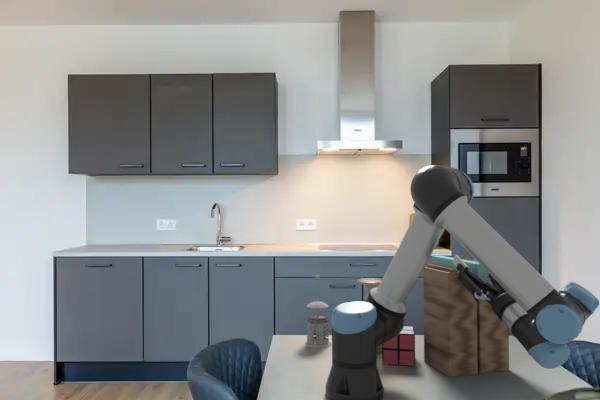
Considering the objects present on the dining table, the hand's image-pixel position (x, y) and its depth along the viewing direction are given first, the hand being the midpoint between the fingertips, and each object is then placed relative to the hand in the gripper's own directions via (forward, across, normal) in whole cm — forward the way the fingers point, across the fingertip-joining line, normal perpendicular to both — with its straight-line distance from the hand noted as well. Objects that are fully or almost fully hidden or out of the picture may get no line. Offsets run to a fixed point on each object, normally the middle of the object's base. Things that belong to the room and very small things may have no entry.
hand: (465, 258), depth 135 cm
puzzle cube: (-2, -12, -39) cm, 41 cm away
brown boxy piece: (-10, +5, -34) cm, 36 cm away
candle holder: (+10, -16, -46) cm, 50 cm away
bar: (+1, 0, -6) cm, 6 cm away
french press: (+19, -32, -51) cm, 63 cm away
